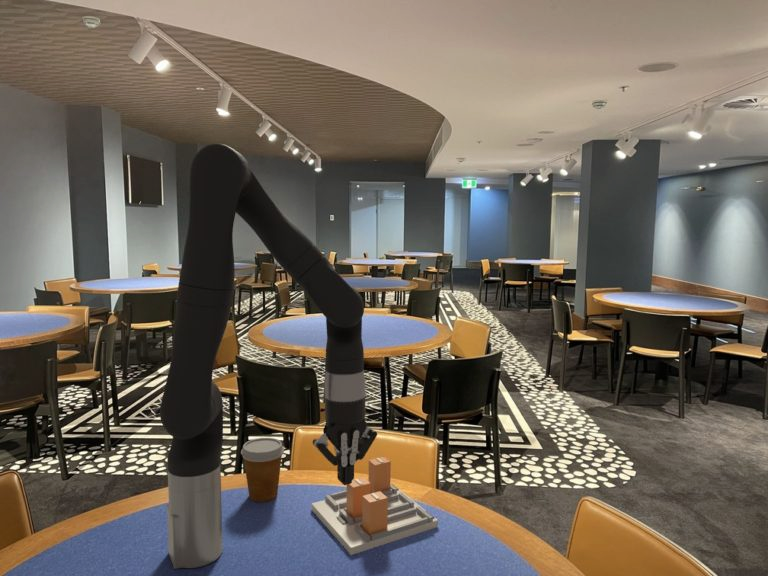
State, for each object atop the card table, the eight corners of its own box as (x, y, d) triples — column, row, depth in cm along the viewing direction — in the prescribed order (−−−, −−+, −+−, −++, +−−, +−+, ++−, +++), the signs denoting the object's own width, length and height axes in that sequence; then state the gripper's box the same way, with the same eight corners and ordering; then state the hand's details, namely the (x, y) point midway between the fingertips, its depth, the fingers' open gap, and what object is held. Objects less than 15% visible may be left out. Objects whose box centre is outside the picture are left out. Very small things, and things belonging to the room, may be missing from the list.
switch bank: (351, 555, 104) (351, 542, 104) (311, 510, 120) (311, 499, 120) (437, 526, 114) (438, 515, 114) (390, 488, 130) (390, 478, 130)
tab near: (369, 537, 107) (369, 501, 106) (362, 529, 109) (362, 494, 109) (387, 531, 109) (387, 496, 108) (379, 524, 111) (380, 490, 111)
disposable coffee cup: (289, 486, 131) (288, 437, 129) (277, 507, 121) (277, 454, 120) (250, 484, 132) (249, 435, 130) (235, 504, 122) (234, 452, 121)
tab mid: (353, 520, 113) (353, 486, 112) (346, 513, 115) (346, 480, 115) (370, 515, 115) (370, 482, 114) (363, 508, 117) (363, 476, 117)
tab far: (374, 495, 123) (375, 464, 123) (368, 489, 126) (368, 459, 125) (390, 491, 125) (390, 460, 125) (383, 485, 128) (383, 455, 127)
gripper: (320, 405, 96) (321, 500, 98) (386, 393, 103) (386, 482, 105) (304, 393, 103) (305, 483, 104) (366, 383, 109) (367, 467, 111)
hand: (346, 482), depth 105 cm, fingers closed
